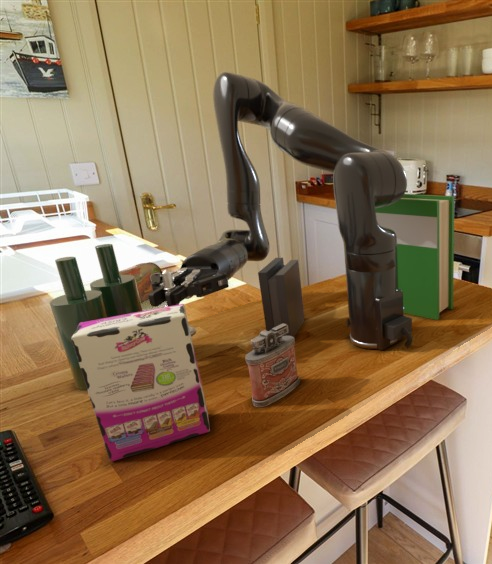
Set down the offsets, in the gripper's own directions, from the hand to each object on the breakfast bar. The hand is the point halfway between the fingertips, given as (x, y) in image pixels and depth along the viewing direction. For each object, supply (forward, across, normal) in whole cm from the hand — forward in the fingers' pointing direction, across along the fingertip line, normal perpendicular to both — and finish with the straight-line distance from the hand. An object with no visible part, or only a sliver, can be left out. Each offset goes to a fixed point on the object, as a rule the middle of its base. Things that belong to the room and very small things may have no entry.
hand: (160, 300), depth 64 cm
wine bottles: (-3, -12, +13) cm, 18 cm away
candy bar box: (+15, +6, +13) cm, 21 cm away
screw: (-3, 0, +9) cm, 10 cm away
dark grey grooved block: (-16, +13, +13) cm, 25 cm away
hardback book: (-28, +37, +13) cm, 48 cm away
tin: (-34, -28, +14) cm, 46 cm away
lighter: (+5, +18, +13) cm, 23 cm away
